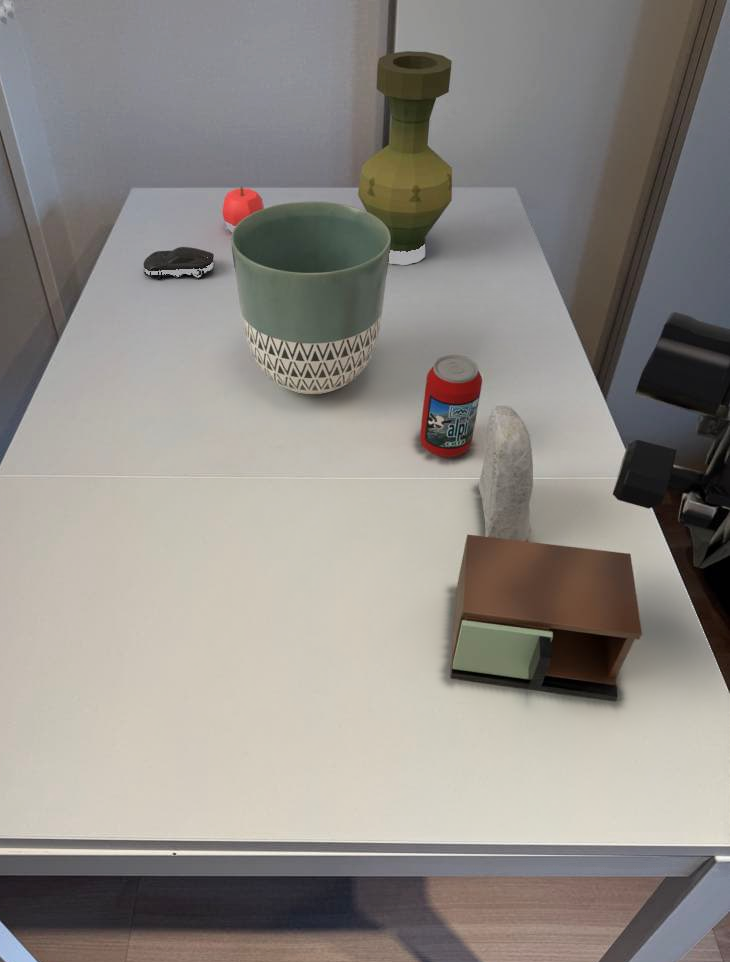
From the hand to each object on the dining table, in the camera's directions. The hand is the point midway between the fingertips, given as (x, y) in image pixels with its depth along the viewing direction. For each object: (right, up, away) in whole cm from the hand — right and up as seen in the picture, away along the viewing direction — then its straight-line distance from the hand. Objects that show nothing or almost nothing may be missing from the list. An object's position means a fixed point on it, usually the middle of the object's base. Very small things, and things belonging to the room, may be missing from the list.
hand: (698, 563), depth 71 cm
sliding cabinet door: (-18, -12, +4) cm, 22 cm away
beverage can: (-19, +15, +30) cm, 39 cm away
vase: (-21, +53, +67) cm, 88 cm away
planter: (-36, +25, +40) cm, 60 cm away
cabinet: (-13, -8, +9) cm, 18 cm away
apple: (-49, +60, +73) cm, 106 cm away
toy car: (-59, +48, +62) cm, 99 cm away
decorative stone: (-14, +5, +21) cm, 26 cm away
